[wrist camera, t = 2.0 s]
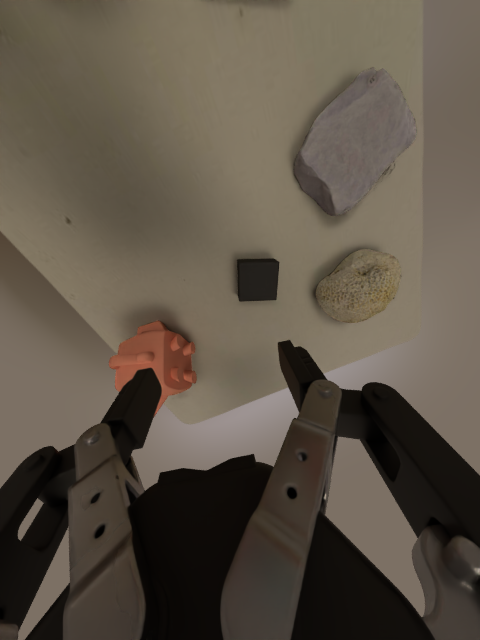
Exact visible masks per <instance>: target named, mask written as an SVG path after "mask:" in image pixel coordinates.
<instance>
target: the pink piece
mask: <svg viewBox="0 0 480 640" xmlns="http://www.w3.org/2000/svg"><path fill="white" fill-rule="evenodd" d="M193 353H195V345H194V343H193V342H190V343H188V342H187V341H186V340H185V339H184V338H183V337H182V336H181V335H180V334H177V333H174V332H171V331H168V329H167V328H166V326H165V325H164V324H163V323H162V322H160V321H156V322H153V323H150V324H147V325H144V326H141V327H138V333H137V335H136V336H134V337H132V338H130V339H128V340H126V341H124V342H122V343H121V344H120V345H119V350H118V355H115V356H112V357H111V358H110V360H109V366H110V368H112V369H116V377H115V388H116V390H117V391H119V392H120V391H121V389H122V387H123V386H124V385H125V384H126V383H127V382H128V381H129V380H131V379H132V378H133V377H134V375H135V373H136V372H137V370H140V369H145V368H150V367H151V368H152V369H153V370H154V372H155V374H156V376H157V378H158V380H159V382H160V384H161V387H162V395H161V398H160V401H159V403H158V406H157V409H156V412H155V415H156V413H157V411H158V410H159V409H160V407H161V406H162V404H163V403H164V402H165V400H166V399H167V397H168V396H169V395H175V394H178V393H181V392H183V391H185V390H187V389H189V388H190V387H191V386H192V383H194V384H195V383H196V380H197V376H196V373H195V371H192V362H191V354H193ZM155 415H154V416H155ZM153 418H154V417H153Z"/></svg>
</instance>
